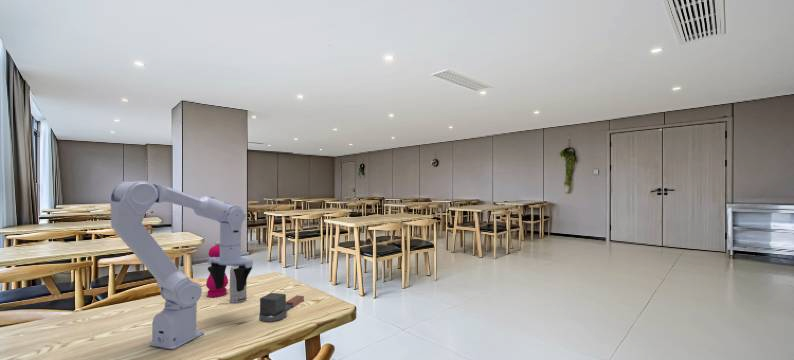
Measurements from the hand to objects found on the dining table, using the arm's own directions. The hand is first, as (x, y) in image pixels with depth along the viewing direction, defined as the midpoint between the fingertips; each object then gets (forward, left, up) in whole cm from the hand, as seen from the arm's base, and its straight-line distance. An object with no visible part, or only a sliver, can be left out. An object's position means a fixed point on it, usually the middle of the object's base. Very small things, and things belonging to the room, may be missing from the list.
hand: (229, 289), depth 99 cm
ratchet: (+12, -11, -9) cm, 19 cm away
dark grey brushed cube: (+6, -11, -8) cm, 15 cm away
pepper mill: (+18, +22, -10) cm, 30 cm away
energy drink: (+15, +10, -10) cm, 20 cm away
